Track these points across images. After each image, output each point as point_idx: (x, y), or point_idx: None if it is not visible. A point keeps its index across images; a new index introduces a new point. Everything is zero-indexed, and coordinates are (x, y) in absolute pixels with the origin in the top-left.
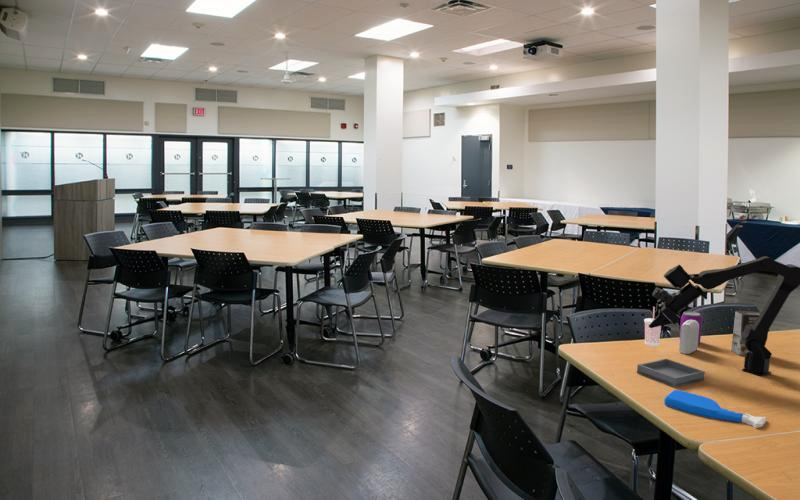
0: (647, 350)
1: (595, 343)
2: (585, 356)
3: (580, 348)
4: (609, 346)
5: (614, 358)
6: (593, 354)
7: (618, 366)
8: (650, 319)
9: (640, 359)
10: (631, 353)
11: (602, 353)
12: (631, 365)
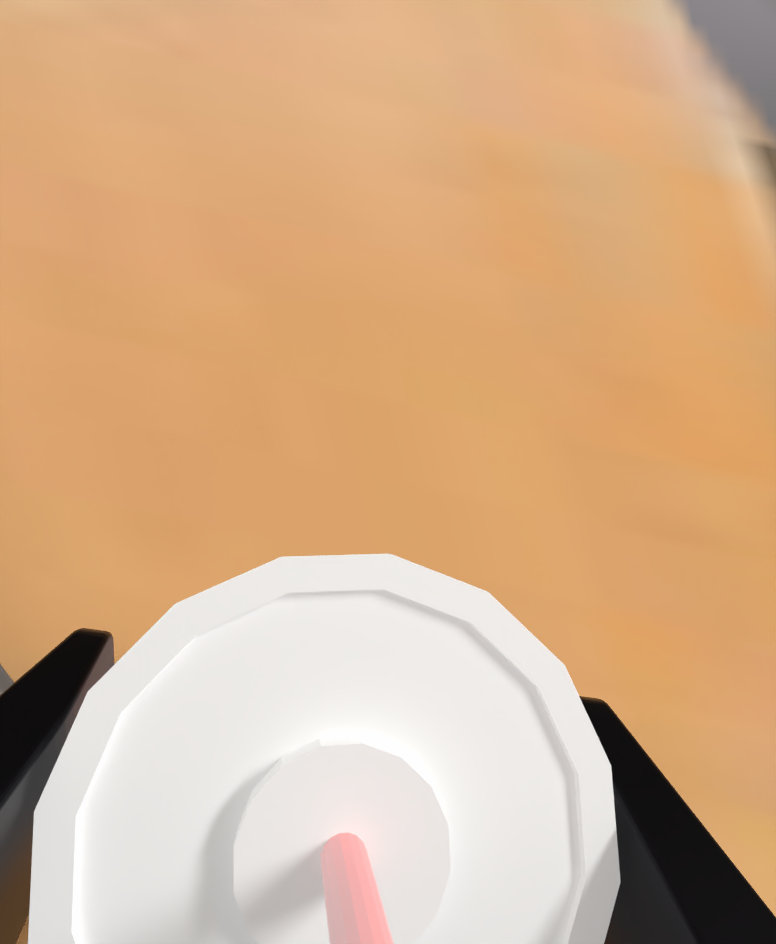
0: (666, 704)
1: (752, 216)
2: (295, 29)
3: (546, 42)
4: (692, 330)
5: (291, 290)
6: (379, 117)
7: (17, 269)
8: (350, 756)
9: (316, 555)
10: (510, 504)
11: (435, 209)
12: (77, 411)
